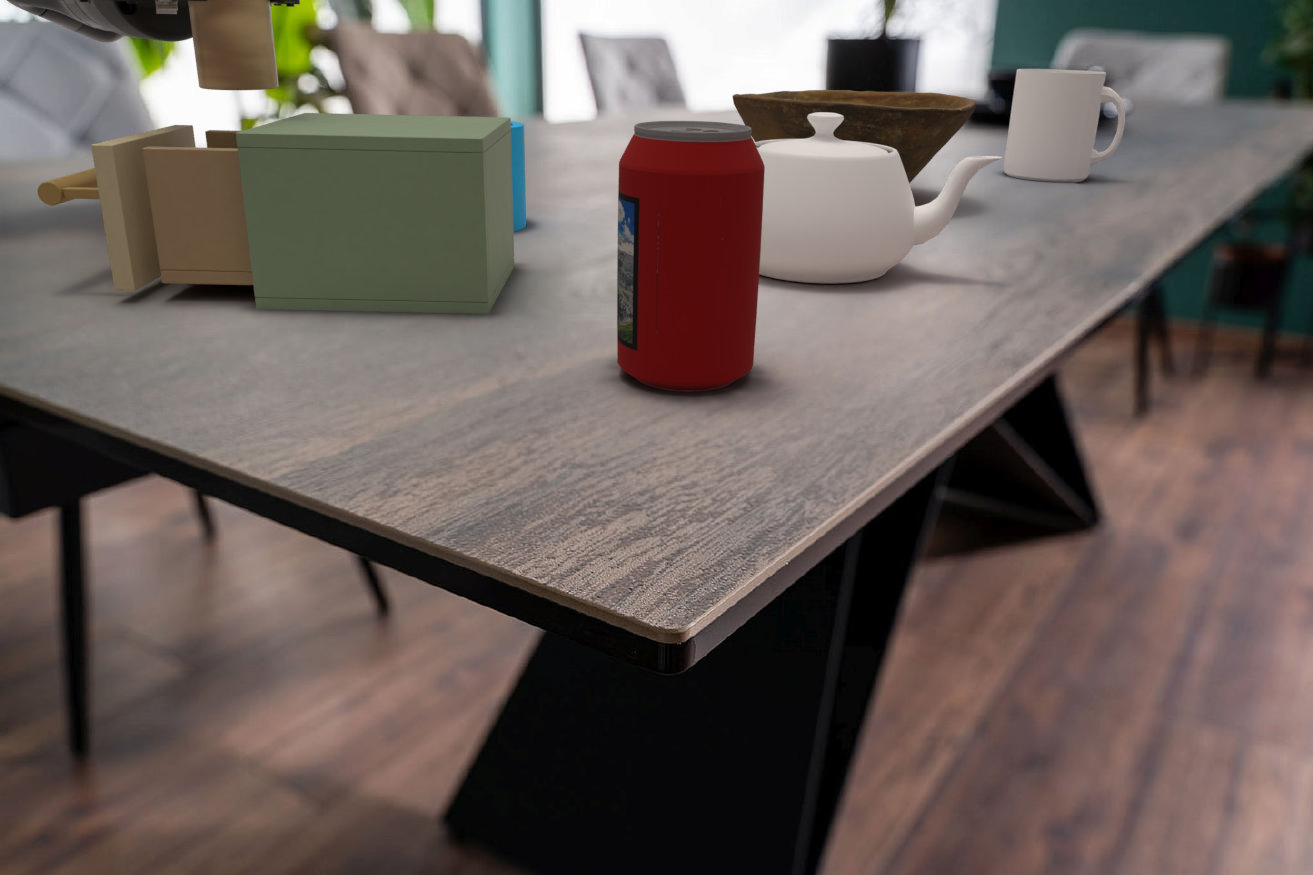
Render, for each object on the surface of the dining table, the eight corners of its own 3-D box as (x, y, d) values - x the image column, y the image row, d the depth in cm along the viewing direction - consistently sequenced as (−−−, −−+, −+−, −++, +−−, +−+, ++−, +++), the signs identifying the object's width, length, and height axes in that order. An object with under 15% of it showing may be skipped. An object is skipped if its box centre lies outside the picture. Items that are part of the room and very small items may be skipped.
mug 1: (541, 232, 87) (539, 127, 84) (442, 239, 84) (437, 130, 81) (492, 208, 97) (489, 114, 94) (402, 213, 94) (396, 116, 91)
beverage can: (653, 350, 58) (658, 116, 53) (772, 369, 55) (788, 125, 50) (591, 385, 52) (591, 127, 47) (721, 409, 49) (733, 137, 45)
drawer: (33, 288, 63) (5, 142, 60) (122, 248, 74) (102, 123, 71) (328, 295, 63) (315, 149, 60) (375, 254, 74) (365, 129, 71)
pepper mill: (187, 89, 64) (164, -78, 61) (215, 83, 68) (196, -73, 65) (264, 91, 64) (246, -76, 61) (288, 85, 69) (272, -71, 65)
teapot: (649, 280, 72) (652, 113, 68) (693, 242, 85) (698, 99, 81) (988, 308, 68) (1013, 130, 64) (982, 263, 80) (1003, 112, 76)
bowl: (867, 180, 120) (876, 85, 116) (1010, 214, 100) (1026, 102, 97) (690, 188, 111) (694, 86, 107) (809, 227, 92) (818, 105, 88)
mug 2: (994, 170, 129) (1008, 68, 125) (1097, 174, 128) (1114, 71, 124) (1012, 182, 121) (1027, 72, 116) (1122, 186, 120) (1142, 75, 115)
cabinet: (256, 311, 63) (235, 132, 59) (318, 264, 75) (304, 112, 71) (488, 316, 63) (482, 138, 59) (514, 268, 75) (510, 117, 71)
